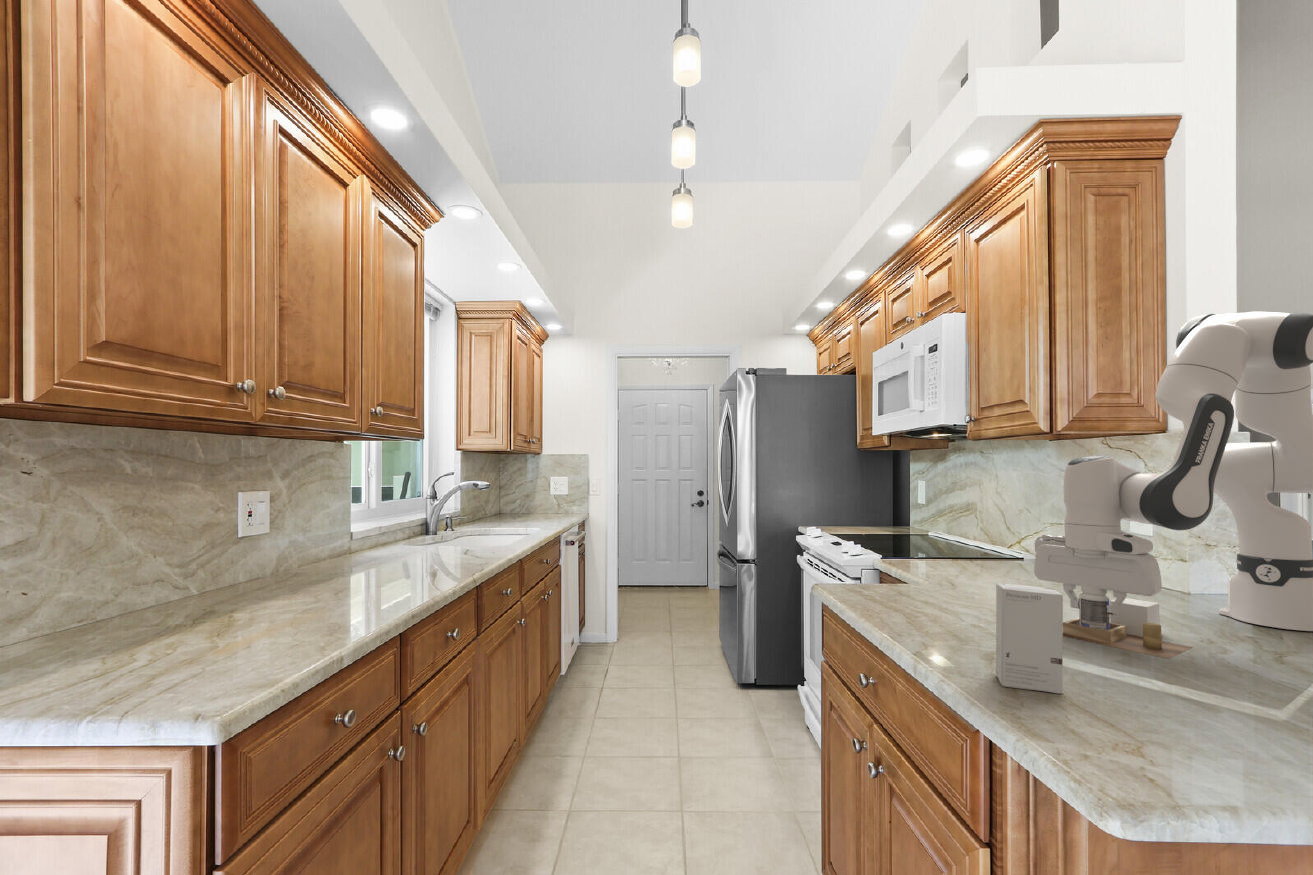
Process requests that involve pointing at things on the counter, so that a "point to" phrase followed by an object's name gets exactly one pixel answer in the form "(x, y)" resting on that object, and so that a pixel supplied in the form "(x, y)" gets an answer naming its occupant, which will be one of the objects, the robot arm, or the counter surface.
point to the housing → (1136, 615)
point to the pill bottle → (1094, 608)
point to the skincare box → (1029, 637)
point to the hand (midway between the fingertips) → (1094, 611)
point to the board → (1126, 638)
